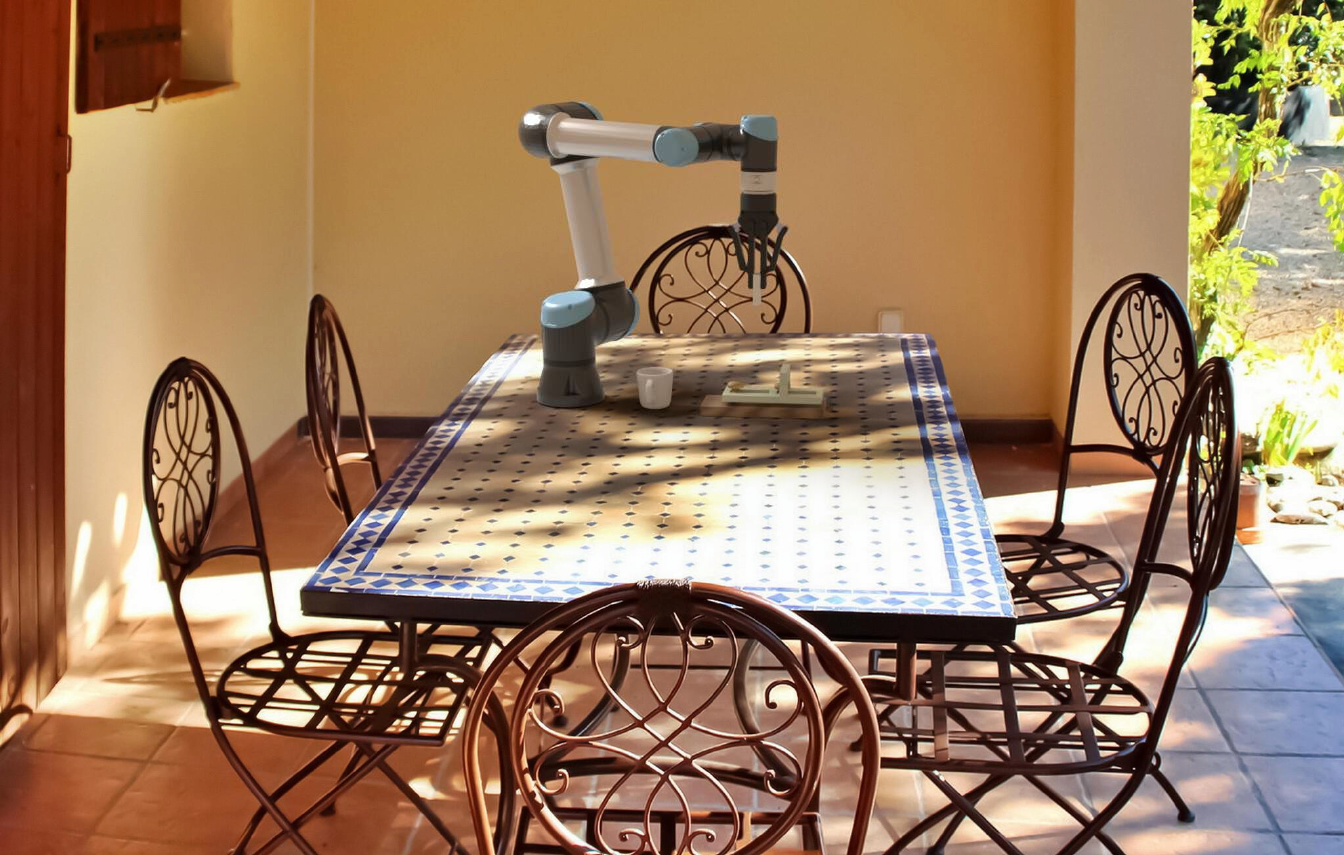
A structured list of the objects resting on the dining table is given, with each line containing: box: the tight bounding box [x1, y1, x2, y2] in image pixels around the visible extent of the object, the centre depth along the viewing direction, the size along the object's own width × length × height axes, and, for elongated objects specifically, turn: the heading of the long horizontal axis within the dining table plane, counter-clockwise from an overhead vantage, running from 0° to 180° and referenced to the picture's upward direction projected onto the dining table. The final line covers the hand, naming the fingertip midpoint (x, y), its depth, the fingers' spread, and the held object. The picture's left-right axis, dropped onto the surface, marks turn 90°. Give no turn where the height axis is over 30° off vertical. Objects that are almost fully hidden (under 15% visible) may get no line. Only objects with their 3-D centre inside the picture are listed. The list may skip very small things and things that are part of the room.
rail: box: [699, 380, 827, 420], centre depth 308 cm, size 26×10×6 cm, turn 81°
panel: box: [721, 363, 825, 404], centre depth 306 cm, size 21×8×7 cm, turn 81°
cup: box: [636, 366, 674, 410], centre depth 311 cm, size 11×8×8 cm
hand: (756, 304), depth 303 cm, fingers closed
